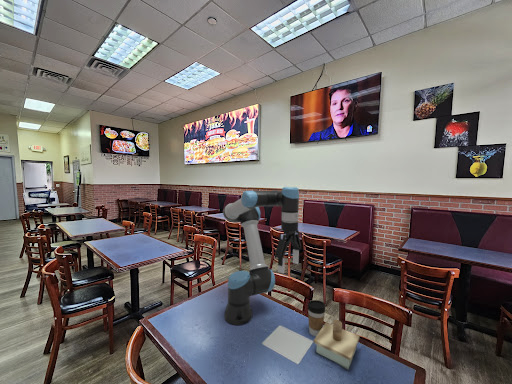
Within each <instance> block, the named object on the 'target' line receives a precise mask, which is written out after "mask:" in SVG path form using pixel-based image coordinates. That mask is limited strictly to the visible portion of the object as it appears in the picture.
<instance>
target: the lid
mask: <svg viewBox="0 0 512 384" xmlns="http://www.w3.org/2000/svg"><path fill="white" fill-rule="evenodd" d="M313 341H314V342H313V344H315V345H316V346H317V345H319V346H321V347H323V348H325V349H327V350H329V351H332V352H334V353H336V354H338V355H340V356H342V357H344V358H346V359H348V360H350V361H351V359H352V357H353V358H354V356H353V354H354V351H355V349H356V350H357V346H358V343H359V341H360V335H358V334H355V333H353V332H350V331H348V330H345V329H344V328H343V322H342V321H341V320H339V319H334V320H333V321H332V324H331V323H329V322H324V323H323V327H322V329H321V330H320V332H319V333H318V335H317V336H315V338H314V339H313ZM355 352H356V351H355ZM354 355H355V354H354ZM352 360H353V359H352Z"/></svg>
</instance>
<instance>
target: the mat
mask: <svg viewBox="0 0 512 384" xmlns="http://www.w3.org/2000/svg"><path fill="white" fill-rule="evenodd" d="M261 344H262V345H263V346H265V347H267V348H268V349H270V350H272V351H274V352H276V353H277V354H279V355H281V356H283V357H284V358H286V359H288V360H289V361H290V362H293V363H294V364H296V365H299V363H300V362H301V361H302V360H303V358H304V356H305V355H306V353H307V352H308V351H309V349H310V348H311V346H312V344H314V340H312V339H310V338H308V337H306V336H303V335H301V334H299V333H298V332H295V331H293V330H290V329H289V328H287V327H284V326H283V325H281V324H280V325H278V326H277V327H276V328H275V329H274V330H273V332H271V334H269V336H267V337H266V338H265V340H263V342H261Z"/></svg>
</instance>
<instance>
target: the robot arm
mask: <svg viewBox="0 0 512 384" xmlns="http://www.w3.org/2000/svg"><path fill="white" fill-rule="evenodd" d="M281 189H282V190H277V189H275V190H274V189H273V190H245V191H243V192H242V194H241V197H240V198H239V199H237V200H236V201H235V202H232V203H231V202H230V203H228V204H226V205H225V206H224V207H223V210H222V215H223V217H224V219H226V221H228V222H231V223H240V226H241V228H243V230H244V231H243V233H244V236H245V237H244V238H245V242H246V243H245V244H246V248H247V253H248V259H249V264H250V267H249V270H248V271H247V270H237V271H235V272H232V273H231V274H230V275H229V276H228V280H227V282H228V283H227V305H226V307H225V310H224V320H225V321H226V323H228V324H230V325H234V326H243V325H246V324H248V323H249V322H251V321H252V318H253V310H252V308H251V304H250V297H253V296H257V295H261V294H267V293H269V292H271V291H273V289H274V287H275V284H276V276H275V273H274V271H273V270H272V269H270V268H269V265H268V264H266V262H265V258H264V253H263V248H262V247H263V246H262V242H261V238H260V232H259V229H258V228H259V227H258V224H259V221H260V219H261V214H262V213H261V209H260V207H281V218H280V219H281V223H280V227H281V230H282V231H283V233H280V234H279V236H278V239H279V240H278V242H277V247H276V250H275V254H274V257H275V258H277V272H278V273H280V274H285V262H286V261H285V254H286V252H287V249H288V246H289V245H290V244H291V245H292V247H293V249H292V263H293V264H295V265H298V264H299V260H300V259H299V258H300V253H299V252H300V251H301V250H302V244H301V239H300V235H299V233H300V232H299V231H300V230H299V222H298V221H299V217H300V216H299V210H300V209H299V206H300V204H299V203H300V191H299V190H300V189H299V188H298V187H297V186H295V187H293V186H284V187H282V188H281Z"/></svg>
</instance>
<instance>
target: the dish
mask: <svg viewBox="0 0 512 384" xmlns="http://www.w3.org/2000/svg"><path fill="white" fill-rule="evenodd" d="M356 351H357V348H356V349H355V351H354V354H353V357H352V359H351V361H350V360H348V359H346V358H344V357H342V356H340V355H338V354H336V353H334V352H332V351H329V350H327V349H325V348H323V347H321V346H319V345H317V344H316V352H315V353H317V354H319V355H320V356H322V357H324V358H327V359H328V360H331V361H333V362H334V363H335V364H338V365H339V366H340V367H341V368H343V369H345V370H347V371H349V369H350V367H351V364H352V361H353V359H354V357H355V354H356Z"/></svg>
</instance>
